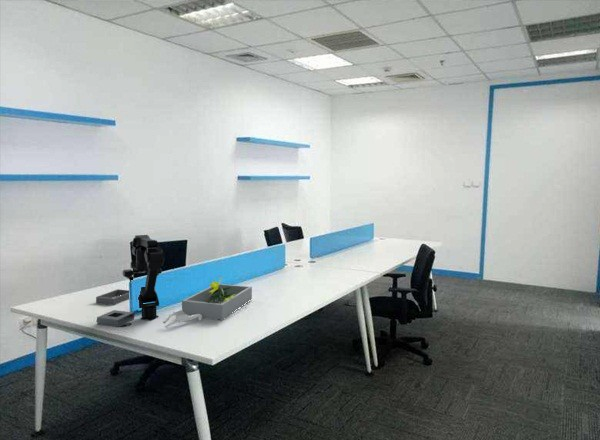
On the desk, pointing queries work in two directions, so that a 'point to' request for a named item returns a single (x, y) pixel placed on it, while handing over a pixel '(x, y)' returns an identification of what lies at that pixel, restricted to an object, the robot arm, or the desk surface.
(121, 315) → the housing
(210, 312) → the planter
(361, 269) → the desk surface
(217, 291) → the daffodil flowers
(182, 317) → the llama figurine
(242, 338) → the desk surface
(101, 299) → the tray
